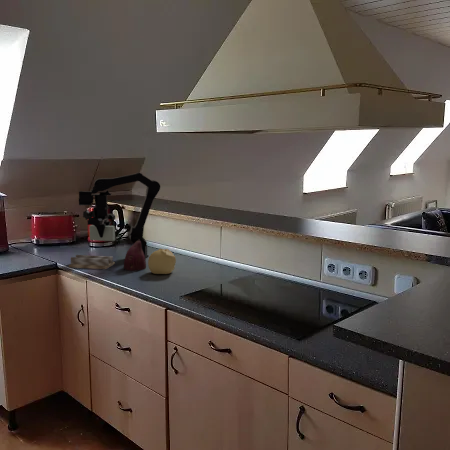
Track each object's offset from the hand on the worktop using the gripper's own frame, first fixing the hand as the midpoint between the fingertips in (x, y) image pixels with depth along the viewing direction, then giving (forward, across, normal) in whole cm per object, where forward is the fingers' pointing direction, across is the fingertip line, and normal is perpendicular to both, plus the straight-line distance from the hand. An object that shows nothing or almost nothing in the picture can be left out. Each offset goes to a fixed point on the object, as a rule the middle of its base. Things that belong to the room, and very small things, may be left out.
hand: (102, 236), depth 233 cm
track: (+11, +12, 0) cm, 16 cm away
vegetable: (+12, +12, +21) cm, 27 cm away
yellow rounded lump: (+12, +18, +36) cm, 42 cm away
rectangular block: (+2, 0, 0) cm, 2 cm away
